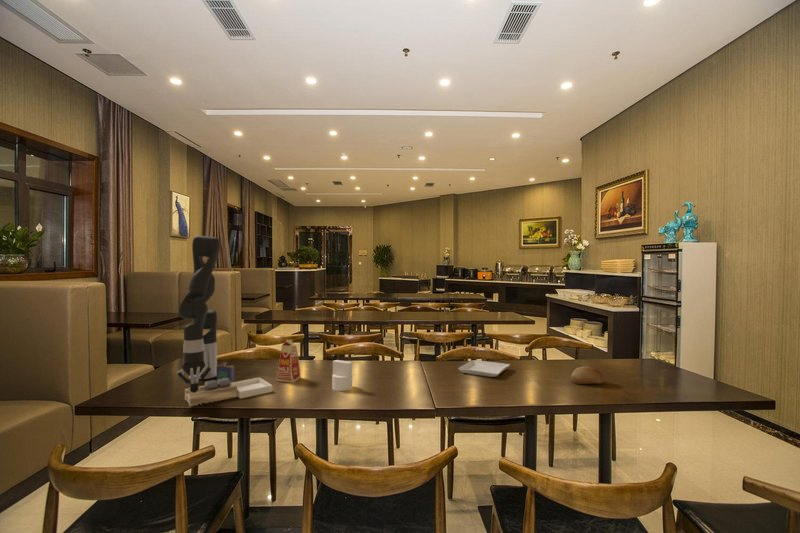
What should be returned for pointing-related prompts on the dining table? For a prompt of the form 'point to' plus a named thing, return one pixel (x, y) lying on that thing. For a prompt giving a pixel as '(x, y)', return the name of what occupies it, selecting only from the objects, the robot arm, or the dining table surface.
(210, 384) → the grey cube
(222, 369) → the flask
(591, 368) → the bread roll
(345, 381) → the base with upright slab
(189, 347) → the robot arm
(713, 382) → the dining table surface
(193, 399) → the channel
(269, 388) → the tray
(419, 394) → the dining table surface
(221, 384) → the blue-grey cube
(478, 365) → the salad plate
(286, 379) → the milk carton
